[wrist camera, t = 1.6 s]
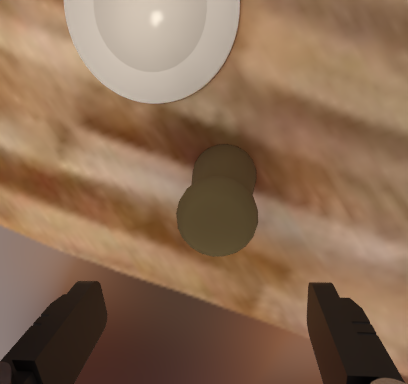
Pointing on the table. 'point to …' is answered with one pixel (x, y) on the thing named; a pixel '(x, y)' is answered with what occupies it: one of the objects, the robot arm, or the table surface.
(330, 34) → the table surface
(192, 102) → the table surface
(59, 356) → the robot arm
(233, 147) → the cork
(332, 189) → the table surface
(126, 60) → the cream plate
